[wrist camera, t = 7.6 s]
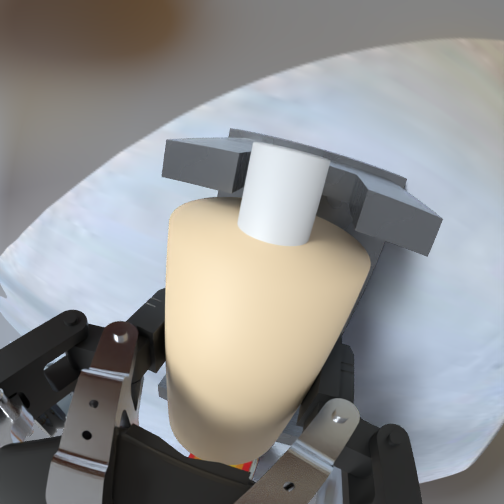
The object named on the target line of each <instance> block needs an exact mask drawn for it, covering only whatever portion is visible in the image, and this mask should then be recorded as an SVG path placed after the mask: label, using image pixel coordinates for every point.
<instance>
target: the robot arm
mask: <svg viewBox="0 0 504 504" xmlns="http://www.w3.org/2000/svg"><path fill="white" fill-rule="evenodd" d="M63 353H66V356H64V357H63V358H61V359H60V360H58V361H57V362H55V363H54V364H53V365H51V366H50V367H48V368H47V369H45V370H44V368H45V366H46V365H47V364H48V363H50V362H51V361H53V360H54V359H56V358H57V357H59V356H60V355H62V354H63ZM165 361H166V356H165V288H163V289H161V290H159V291H158V292H156V293H155V294H154V295H153V296H152V298H150V299H149V300H148V301H147V302H146V303H145V304H144V305H143V306H142V307H141V308H140V309H138V310H137V311H136V312H135V313H134V314H133V315H132V316H131V317H130V318H129V319H128V320H127V321H126V322H124V321H117V322H113V323H110V324H109V325H107V326H106V327H100V326H96V325H92V324H88V322H87V318H86V316H85V314H84V313H82V312H80V311H78V310H68V311H65V312H63V313H61V314H59V315H57V316H56V317H54V318H52V319H50V320H49V321H47V322H45V323H43V324H42V325H40V326H38V327H37V328H35V329H33V330H32V331H30V332H28V333H27V334H25V335H23V336H22V337H20V338H18V339H17V340H15V341H13V342H12V343H10V344H8V345H7V346H5V347H4V348H2V349H0V504H308V503H309V502H310V500H311V499H312V498H313V497H314V495H315V494H316V493H317V496H316V501H315V504H422V499H421V493H420V487H419V481H418V476H417V471H416V466H415V461H414V457H413V452H412V448H411V444H410V439H409V436H408V434H407V432H406V431H405V430H404V429H403V428H402V427H400V426H399V425H396V424H387V425H384V426H383V427H381V428H378V427H376V426H374V425H372V424H370V423H368V422H366V421H364V420H363V419H362V418H361V417H360V414H359V411H358V409H357V408H356V406H355V405H354V354H353V352H352V350H351V348H350V346H348V345H345V344H342V332H341V333H340V335H339V337H338V339H337V341H336V343H335V345H334V347H333V349H332V350H331V352H330V354H329V356H328V358H327V360H326V362H325V363H324V365H323V367H322V369H321V370H320V372H319V374H318V376H317V377H316V379H315V381H314V383H313V384H312V386H311V388H310V389H309V391H308V393H307V394H306V396H305V398H304V399H303V401H302V402H301V405H300V409H299V414H298V419H297V423H296V425H297V426H301V427H303V431H302V434H301V435H300V436H299V438H298V439H297V440H296V441H295V442H294V443H293V444H292V445H291V447H290V448H289V449H288V450H287V451H286V452H285V453H284V454H283V456H282V457H281V458H280V459H279V460H278V461H277V462H276V463H275V464H274V465H273V466H272V467H271V468H270V469H269V470H268V471H267V472H266V473H265V474H264V475H263V476H262V477H261V478H260V479H259V480H258V481H257V482H254V481H253V480H251V479H249V477H250V474H251V472H248V471H245V470H241V469H238V468H235V467H232V466H229V465H226V464H223V463H220V462H213V461H206V460H200V459H194V458H189V457H186V456H184V455H182V454H181V453H179V452H178V451H177V450H175V449H174V448H173V447H172V446H170V445H169V444H168V443H166V442H165V441H164V440H163V439H161V438H160V437H159V436H157V435H155V434H153V433H151V432H149V431H147V430H145V429H143V428H141V427H139V421H138V416H139V407H140V400H141V393H142V387H143V381H144V377H143V375H144V374H145V373H146V371H147V370H150V371H152V372H154V373H157V371H158V370H159V369H160V367H161V366H162V365H163V363H164V362H165ZM72 391H74V394H73V397H72V400H71V403H70V407H69V410H68V414H67V418H66V421H65V425H64V429H63V433H62V435H61V436H56V437H51V438H45V439H39V440H32V441H25V442H24V440H25V438H26V436H31V435H32V434H33V422H34V420H35V419H36V418H38V417H39V416H40V415H42V414H43V413H44V412H46V411H47V410H48V409H50V408H51V407H52V406H54V405H55V404H56V403H58V402H59V401H60V400H62V399H63V398H64V397H66V396H67V395H68V394H70V393H71V392H72ZM317 491H318V492H317Z"/></svg>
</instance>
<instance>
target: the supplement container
mask: <svg viewBox="0 0 504 504" xmlns="http://www.w3.org/2000/svg"><path fill="white" fill-rule="evenodd" d="M51 365H53V363H49V364H47V365H46V366H45V368H44V370H45V369H47V368H48V367H50V366H51ZM73 394H74V391H72V392H71V393H70V394H68V395H67V396H66V397H64V398H63V399H62V400H60V401H59V402H58V403H56V404H55V405H54V406H52V407H51V408H50V409H48V410H47V411H46V412H44V413H43V414H42V415H40V416H39V417H38V418H36V419H35V420H34V422H35V423H36V424H37V425H38V426H39V427H40V428H41V429H42V430H43V431H44V432H45V433H46V434H48V435H49V436H50V437H53V436H54V435H55V433H56V432H57V429H63V428H64V425H65V421H66V418H67V414H68V410H69V407H70V403H71V400H72V397H73Z"/></svg>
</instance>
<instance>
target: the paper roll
mask: <svg viewBox="0 0 504 504" xmlns="http://www.w3.org/2000/svg"><path fill="white" fill-rule="evenodd" d="M329 165H330V160H328V159H326V158H323V157H320V156H317V155H314V154H311V153H307V152H304V151H300V150H296V149H292V148H288V147H283V146H279V145H273V144H268V143H260V142H253V146H252V151H251V156H250V161H249V166H248V171H247V176H246V181H245V186H244V191H243V196H242V198H240V197H212V198H204V199H198V200H194V201H190V202H188V203H185V204H183V205H181V206H179V207H178V208H177V209H175V210H174V211H173V213H172V214H171V216H170V219H169V230H168V244H167V262H166V288H165V356H166V381H167V398H168V412H169V421H170V426H171V429H172V431H173V433H174V435H175V437H176V439H177V440H178V441H179V443H180V444H181V445H182V446H183V447H184V448H185V449H186V450H187V451H189V452H190V453H191V454H193V455H195V456H196V457H198V458H200V459H202V460H206V461H213V462H220V463H223V464H226V465H238V464H244V463H247V462H250V461H253V460H255V459H257V458H259V457H260V456H262V455H264V454H265V453H266V452H267V451H268V450H269V449H270V448H271V447H272V446H273V444H274V443H275V441H276V440H277V439H278V437H279V436H280V434H281V433H282V431H283V430H284V428H285V427H286V426H287V424H288V423H289V421H290V420H291V418H292V416H293V415H294V413H295V412H296V410H297V409H298V407H299V406H300V404H301V402H302V401H303V399H304V398H305V396H306V394H307V393H308V391H309V389H310V388H311V386H312V384H313V383H314V381H315V379H316V377H317V376H318V374H319V372H320V370H321V369H322V367H323V365H324V363H325V362H326V360H327V358H328V356H329V354H330V352H331V350H332V349H333V347H334V345H335V343H336V341H337V339H338V337H339V335H340V333H341V331H342V329H343V327H344V325H345V323H346V321H347V319H348V317H349V315H350V313H351V311H352V309H353V306H354V304H355V302H356V300H357V298H358V296H359V293H360V291H361V289H362V287H363V284H364V282H365V280H366V277H367V275H368V273H369V270H370V266H371V262H370V258H369V255H368V253H367V251H366V250H365V248H364V247H363V246H362V245H361V244H360V243H359V242H358V241H357V240H356V239H355V238H354V237H353V236H351V235H350V234H349V233H347V232H346V231H344V230H343V229H341V228H340V227H338V226H336V225H334V224H333V223H331V222H329V221H327V220H325V219H322V218H320V217H318V216H316V213H317V210H318V206H319V202H320V199H321V195H322V192H323V188H324V184H325V180H326V177H327V173H328V169H329Z"/></svg>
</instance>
